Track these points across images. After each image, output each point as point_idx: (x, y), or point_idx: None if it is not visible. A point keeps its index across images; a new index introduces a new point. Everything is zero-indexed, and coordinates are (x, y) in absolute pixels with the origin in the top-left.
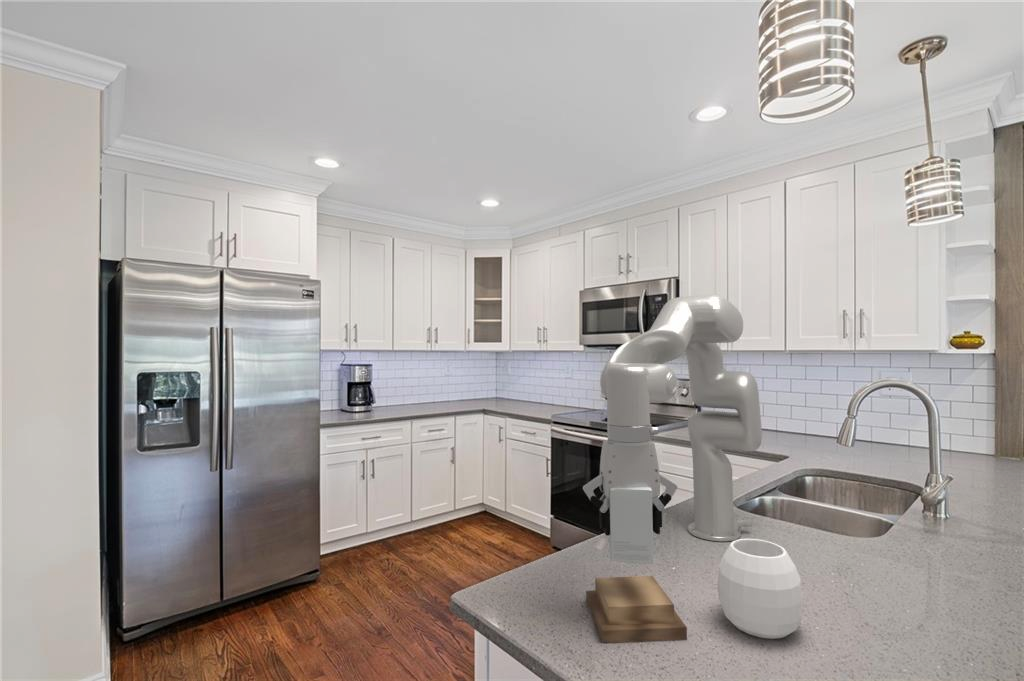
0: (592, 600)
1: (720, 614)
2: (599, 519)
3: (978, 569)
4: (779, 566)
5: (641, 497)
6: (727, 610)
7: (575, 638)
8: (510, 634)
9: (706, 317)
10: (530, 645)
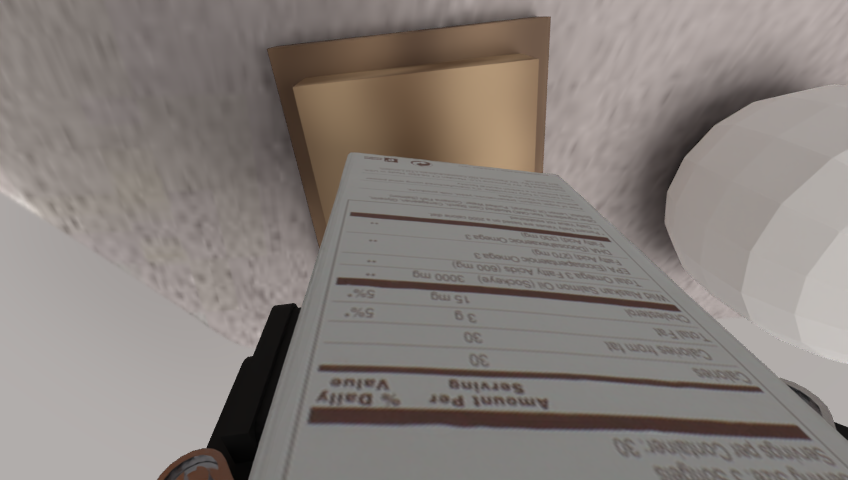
0: (296, 126)
1: (677, 121)
2: (232, 393)
3: None
4: None
5: None
6: (672, 231)
7: (265, 251)
8: (91, 245)
9: None
10: (161, 282)
